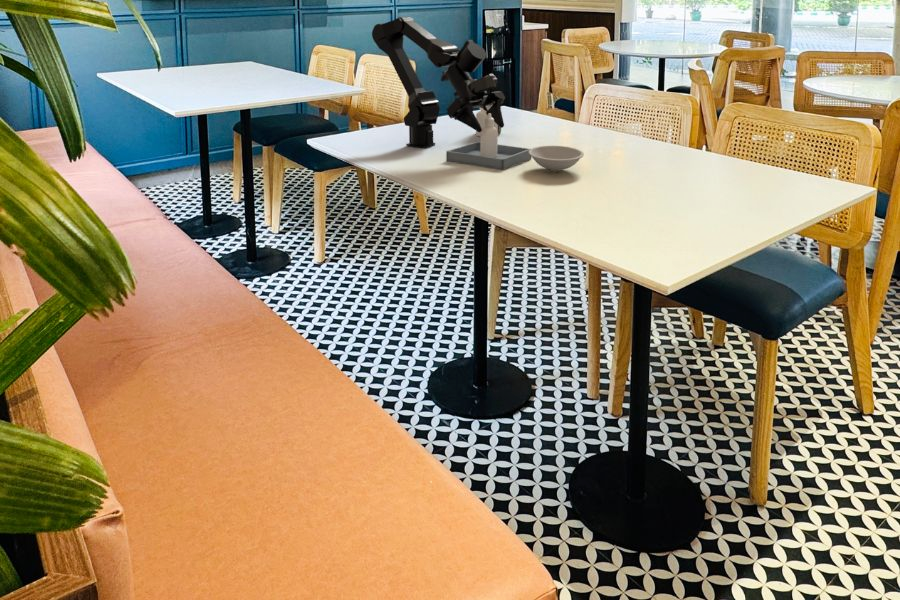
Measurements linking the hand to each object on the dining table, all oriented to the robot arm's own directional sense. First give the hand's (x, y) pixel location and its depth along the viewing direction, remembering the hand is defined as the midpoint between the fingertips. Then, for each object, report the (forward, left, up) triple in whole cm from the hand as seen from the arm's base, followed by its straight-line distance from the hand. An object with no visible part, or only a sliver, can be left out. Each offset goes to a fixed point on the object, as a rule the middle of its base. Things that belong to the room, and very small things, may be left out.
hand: (492, 129), depth 226 cm
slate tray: (-1, 0, -9) cm, 9 cm away
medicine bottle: (-20, +31, -9) cm, 38 cm away
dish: (+20, -1, -9) cm, 22 cm away
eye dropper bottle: (-1, 0, -8) cm, 8 cm away
